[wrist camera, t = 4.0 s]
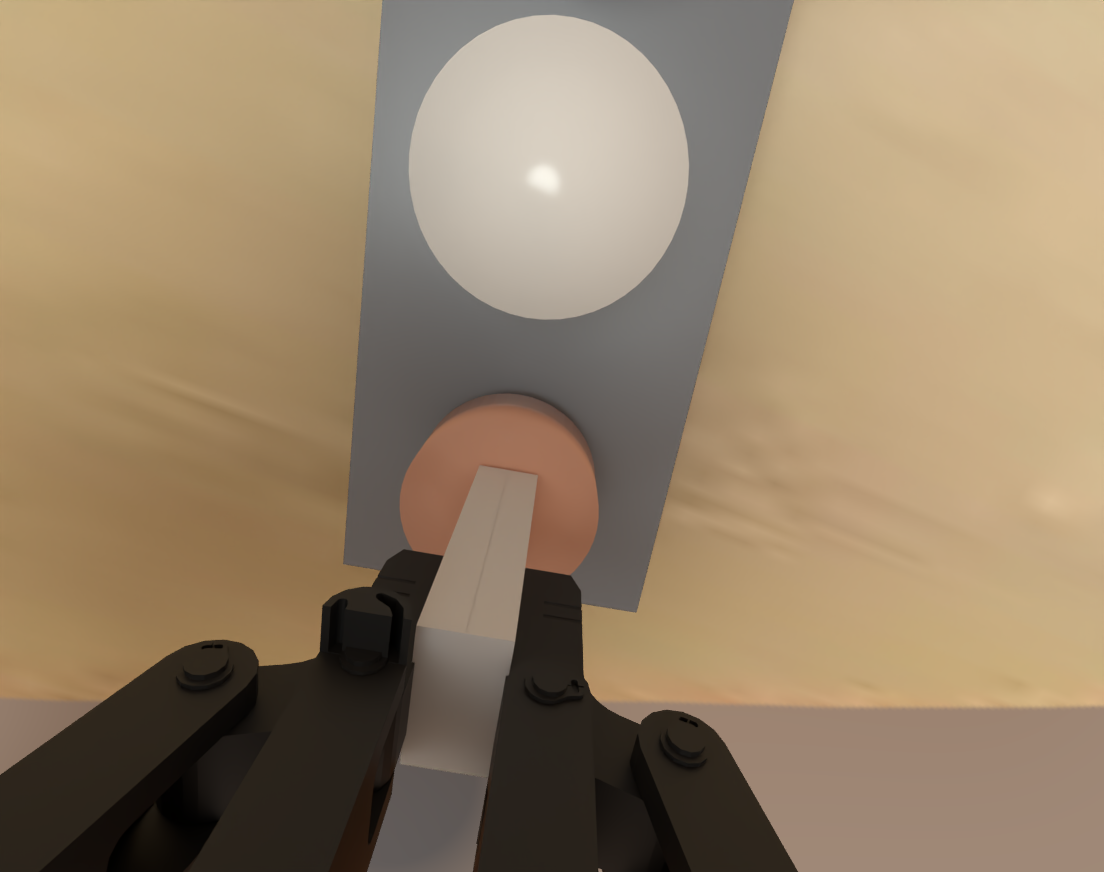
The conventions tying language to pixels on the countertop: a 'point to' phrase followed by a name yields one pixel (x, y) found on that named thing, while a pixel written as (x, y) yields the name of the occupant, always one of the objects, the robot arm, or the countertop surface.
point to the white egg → (548, 167)
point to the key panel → (557, 344)
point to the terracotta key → (512, 444)
